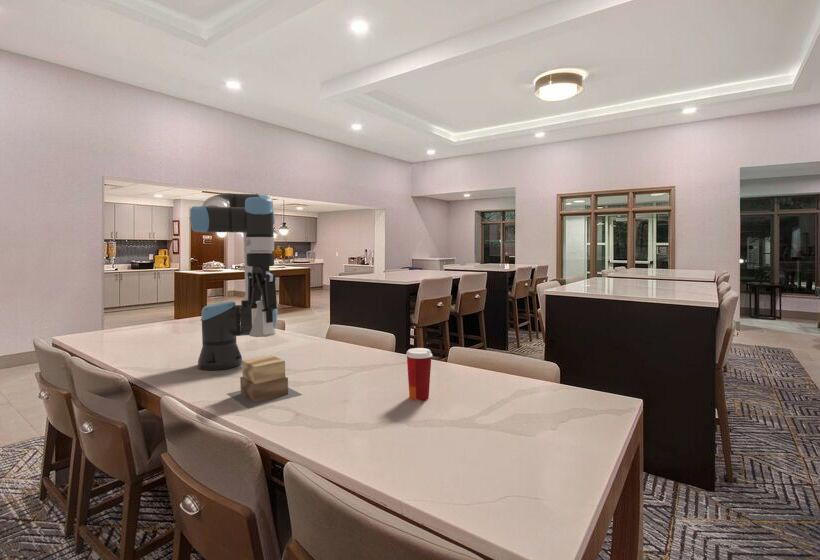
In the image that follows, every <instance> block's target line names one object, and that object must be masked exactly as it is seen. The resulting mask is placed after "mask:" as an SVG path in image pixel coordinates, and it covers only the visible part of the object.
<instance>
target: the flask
mask: <svg viewBox="0 0 820 560" xmlns="http://www.w3.org/2000/svg"><path fill="white" fill-rule="evenodd" d="M256 304H257V312H256V317H255V320H254V323H253V326H252V329H251V331H250V334H249V335H248V336H249V337H251V338H252V337H253V338H267V337H270V336H271V337H272V336H275V335H276V333H277V332H276V328H275V329H274V327H273V332H274V333H272V334H265V335H264V334H263V312H262V310H263V309H264V306H263V301H256Z"/></svg>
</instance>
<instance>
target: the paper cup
mask: <svg viewBox="0 0 820 560" xmlns="http://www.w3.org/2000/svg"><path fill="white" fill-rule="evenodd" d="M405 356H406V361H407V377H408V378H407V380H408V381H407V382H408V392H409V393H408V394H409V399H410V400H411V401H415V402H424V401H427V400H428V399H429V397H430V384H431V383H430V382H431V370H432V369H431V368H432V357H433V353H432V351H431V349H429V348H424V347H414V348H413V347H412V348H409V349H408V350H407V351H406V354H405Z"/></svg>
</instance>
